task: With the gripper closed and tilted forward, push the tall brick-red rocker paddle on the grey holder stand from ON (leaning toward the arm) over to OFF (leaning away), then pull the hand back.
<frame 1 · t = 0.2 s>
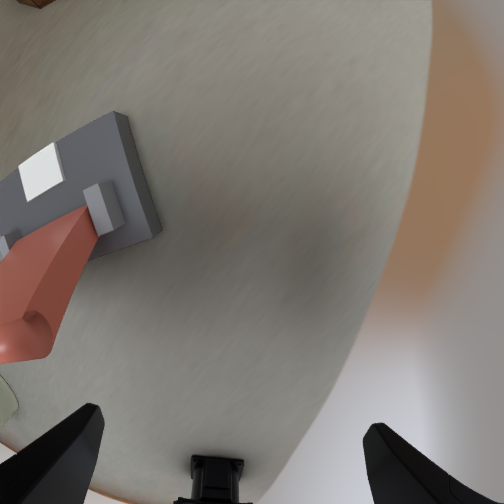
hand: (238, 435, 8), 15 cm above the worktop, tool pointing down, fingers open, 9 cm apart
rocker: (23, 285, 13), point 8 cm above the worktop, hinge at -20.0°
grey holder stand: (75, 222, 20), on the worktop
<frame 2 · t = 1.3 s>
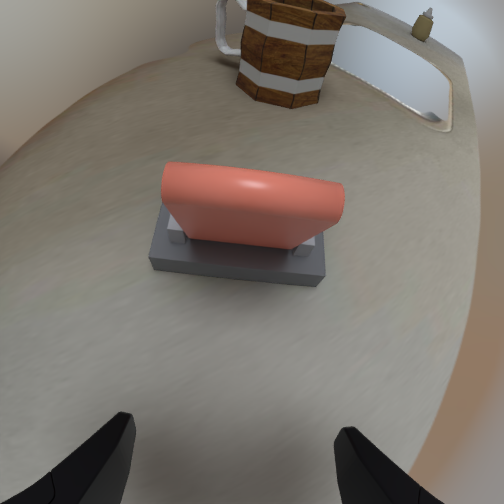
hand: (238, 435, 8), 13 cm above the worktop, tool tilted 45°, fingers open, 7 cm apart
mug: (262, 79, 40), on the worktop
squeeze bottle: (417, 38, 81), on the worktop
rocker: (246, 214, 17), point 8 cm above the worktop, hinge at -20.0°
grey holder stand: (238, 247, 26), on the worktop
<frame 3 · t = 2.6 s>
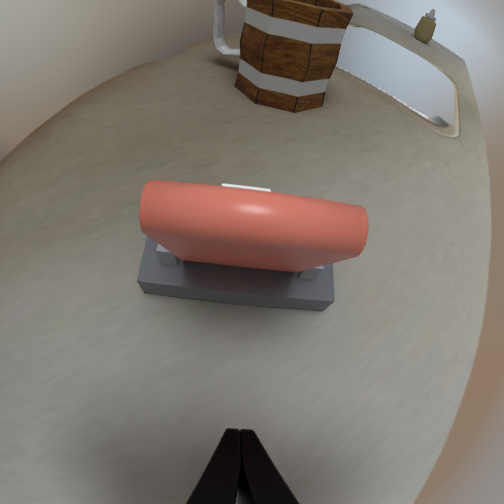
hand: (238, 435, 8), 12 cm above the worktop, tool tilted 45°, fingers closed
mug: (262, 80, 38), on the worktop
squeeze bottle: (420, 40, 80), on the worktop
rocker: (246, 238, 15), point 8 cm above the worktop, hinge at -20.0°
grey holder stand: (237, 267, 23), on the worktop
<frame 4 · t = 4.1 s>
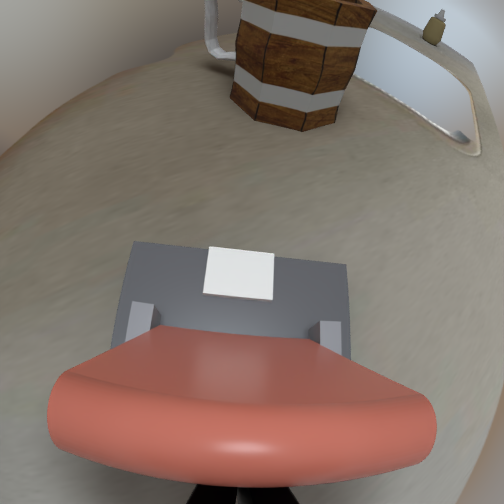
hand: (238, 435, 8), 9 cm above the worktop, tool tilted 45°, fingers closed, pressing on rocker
mug: (263, 89, 32), on the worktop
squeeze bottle: (428, 42, 75), on the worktop
rocker: (238, 383, 9), point 8 cm above the worktop, hinge at -19.5°, touching gripper
grey holder stand: (231, 354, 18), on the worktop
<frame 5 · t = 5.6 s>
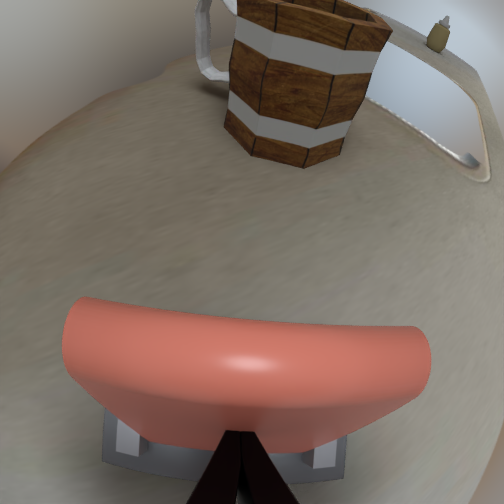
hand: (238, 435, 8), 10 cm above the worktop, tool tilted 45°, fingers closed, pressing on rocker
mug: (261, 115, 30), on the worktop
squeeze bottle: (432, 49, 73), on the worktop
rocker: (236, 411, 9), point 8 cm above the worktop, hinge at 17.5°, touching gripper
grey holder stand: (225, 431, 16), on the worktop
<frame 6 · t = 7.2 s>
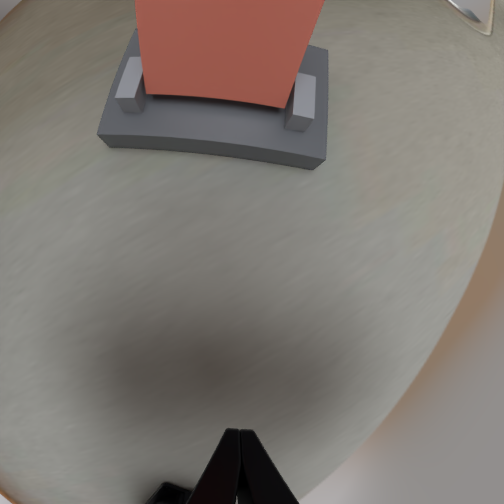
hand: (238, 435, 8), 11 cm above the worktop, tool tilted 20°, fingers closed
rocker: (225, 10, 10), point 8 cm above the worktop, hinge at 17.6°
grey holder stand: (215, 114, 18), on the worktop
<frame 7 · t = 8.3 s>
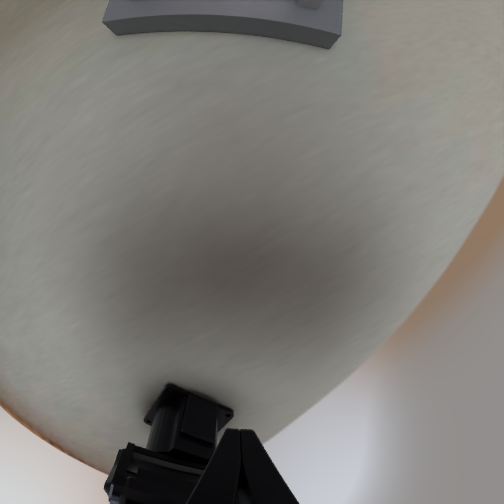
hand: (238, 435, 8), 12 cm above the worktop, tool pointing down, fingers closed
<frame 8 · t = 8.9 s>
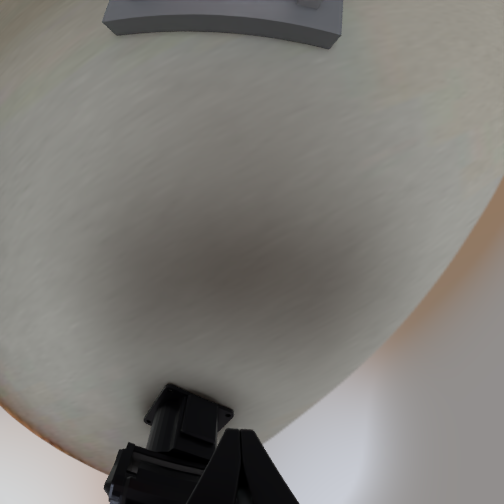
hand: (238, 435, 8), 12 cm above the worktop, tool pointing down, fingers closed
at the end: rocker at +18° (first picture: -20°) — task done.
